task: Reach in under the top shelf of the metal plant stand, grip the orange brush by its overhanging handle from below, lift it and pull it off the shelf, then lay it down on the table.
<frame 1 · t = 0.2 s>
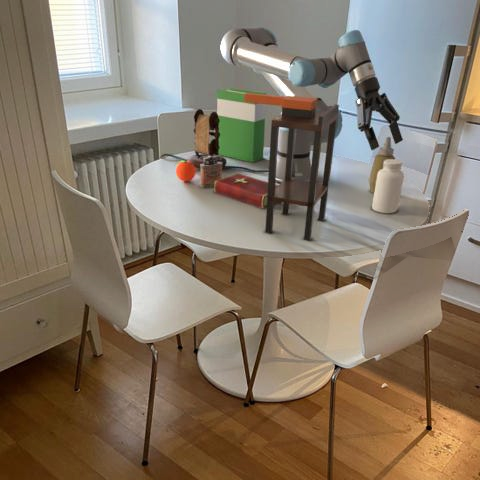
hand: (387, 145, 168), 15 cm above the table, tool tilted 35°, fingers open, 13 cm apart
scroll: (207, 167, 196), on the table
squeeze bottle: (378, 192, 177), on the table
hardcover book: (249, 196, 170), on the table
green cereal box: (240, 156, 209), on the table
lighter: (211, 186, 178), on the table
clementine: (184, 181, 181), on the table
pill bottle: (384, 210, 163), on the table
brush: (298, 115, 133), point 30 cm above the table, touching metal plant stand
metal plant stand: (295, 225, 150), on the table
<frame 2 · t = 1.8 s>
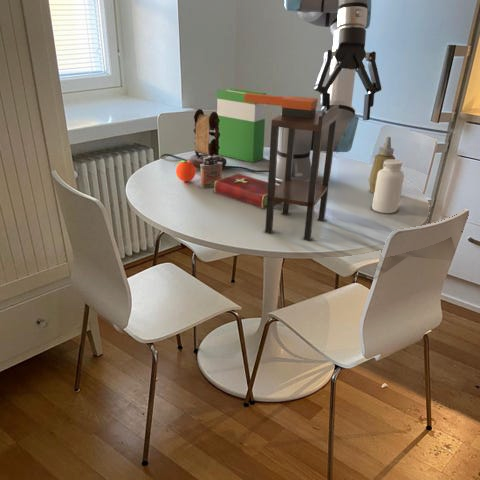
hand: (346, 119, 142), 28 cm above the table, tool tilted 15°, fingers open, 11 cm apart
nothing on the table moved.
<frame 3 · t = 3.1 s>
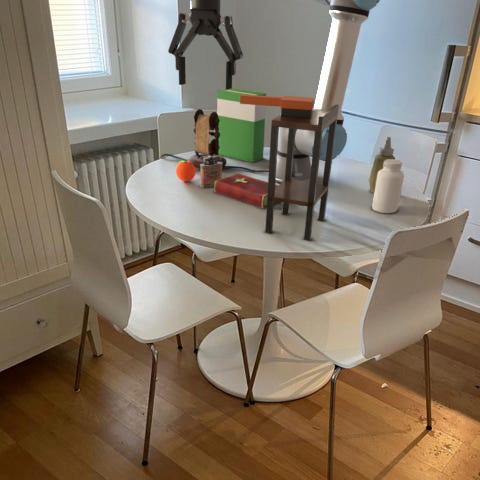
hand: (205, 86, 138), 35 cm above the table, tool pointing down, fingers open, 13 cm apart
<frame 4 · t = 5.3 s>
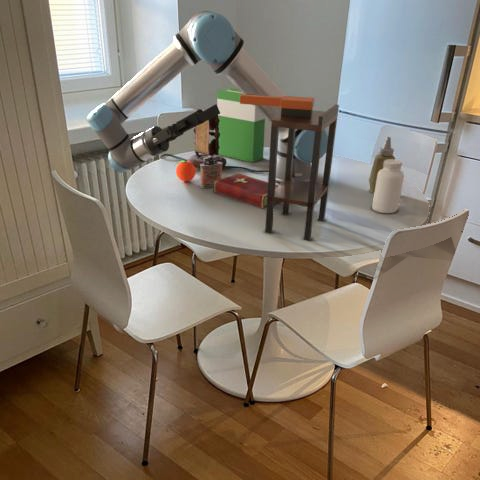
hand: (208, 112, 142), 28 cm above the table, tool pointing upward, fingers open, 13 cm apart
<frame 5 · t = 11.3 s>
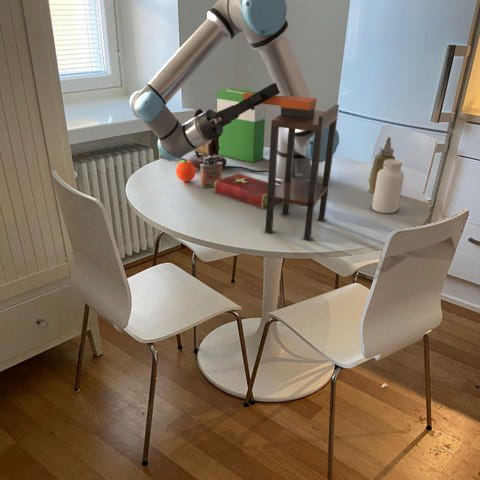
hand: (275, 88, 132), 36 cm above the table, tool pointing upward, fingers closed on brush, 2 cm apart
brush: (297, 115, 133), point 30 cm above the table, touching gripper, metal plant stand
everything else where it was.
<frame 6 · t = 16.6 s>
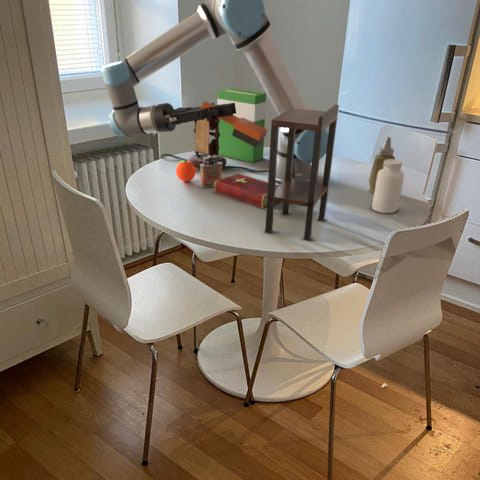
hand: (233, 108, 139), 30 cm above the table, tool horizontal, fingers closed on brush, 2 cm apart
brush: (246, 139, 142), point 22 cm above the table, tilted 19°, touching gripper
everything else where it was.
when the fingers open (10 cm above the table, at t = 21.8 s): brush drops 2 cm, on the table.
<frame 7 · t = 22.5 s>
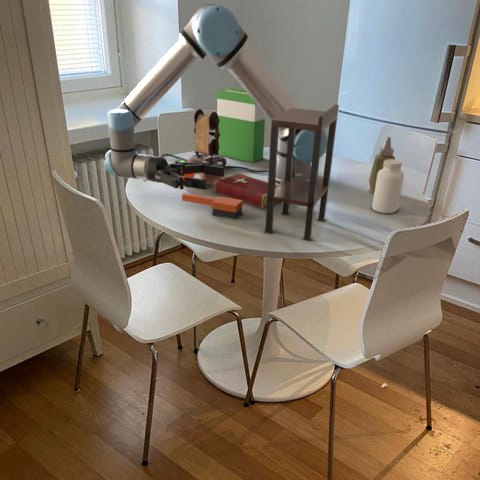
hand: (214, 178, 152), 10 cm above the table, tool horizontal, fingers open, 13 cm apart
brush: (227, 213, 156), on the table
everything else where it was.
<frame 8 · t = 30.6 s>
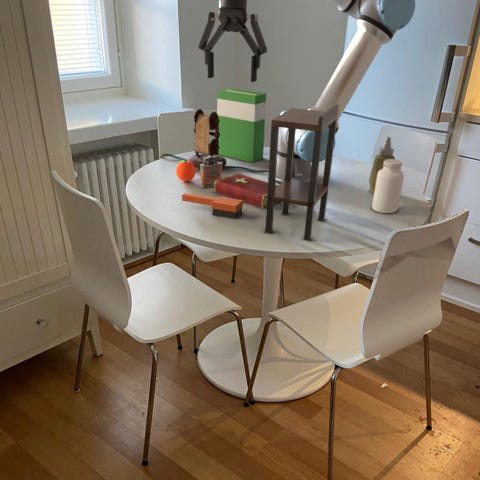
hand: (231, 79, 149), 35 cm above the table, tool pointing down, fingers open, 13 cm apart
nothing on the table moved.
at the end: brush on the table; brush touching table; the gripper is holding nothing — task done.
